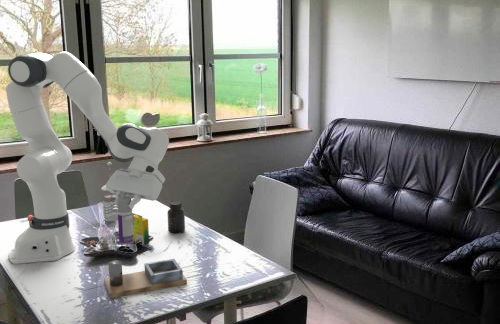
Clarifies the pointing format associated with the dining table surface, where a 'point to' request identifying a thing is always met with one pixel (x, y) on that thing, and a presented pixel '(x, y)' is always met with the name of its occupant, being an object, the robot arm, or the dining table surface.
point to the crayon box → (140, 229)
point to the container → (125, 221)
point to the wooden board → (149, 279)
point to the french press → (112, 213)
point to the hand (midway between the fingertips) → (122, 206)
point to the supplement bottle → (176, 218)
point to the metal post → (115, 273)
